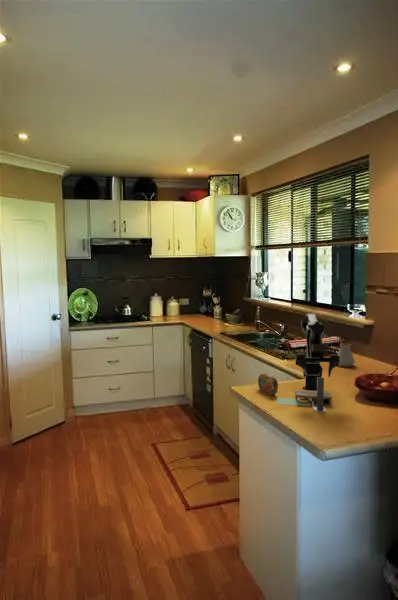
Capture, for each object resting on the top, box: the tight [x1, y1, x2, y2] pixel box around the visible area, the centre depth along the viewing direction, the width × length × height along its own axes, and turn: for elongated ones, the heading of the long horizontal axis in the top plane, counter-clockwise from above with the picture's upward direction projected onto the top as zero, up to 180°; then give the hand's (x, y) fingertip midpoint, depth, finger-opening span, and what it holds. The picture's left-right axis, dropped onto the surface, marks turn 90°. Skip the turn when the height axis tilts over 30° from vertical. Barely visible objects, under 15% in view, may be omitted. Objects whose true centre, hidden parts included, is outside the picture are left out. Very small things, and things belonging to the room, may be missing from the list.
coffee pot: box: [336, 336, 356, 367], centre depth 279 cm, size 21×12×15 cm, turn 176°
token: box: [298, 397, 311, 404], centre depth 205 cm, size 4×4×2 cm
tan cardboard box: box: [294, 389, 333, 406], centre depth 206 cm, size 8×15×4 cm, turn 82°
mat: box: [276, 397, 312, 407], centre depth 206 cm, size 9×14×1 cm, turn 82°
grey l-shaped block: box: [309, 377, 327, 413], centre depth 199 cm, size 15×5×14 cm, turn 172°
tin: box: [257, 373, 279, 396], centre depth 220 cm, size 15×3×8 cm, turn 21°
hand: (318, 376), depth 200 cm, fingers open, 9 cm apart
